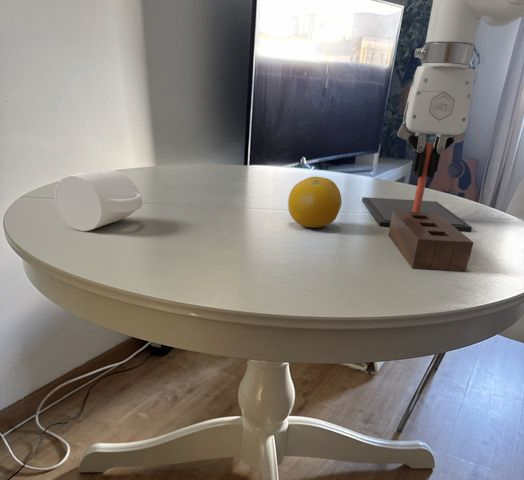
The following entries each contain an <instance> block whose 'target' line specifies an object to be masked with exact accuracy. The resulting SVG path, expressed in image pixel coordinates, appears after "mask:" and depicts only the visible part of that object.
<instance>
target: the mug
mask: <svg viewBox="0 0 524 480" xmlns="http://www.w3.org/2000/svg"><path fill="white" fill-rule="evenodd" d="M54 204H55V207H56V210H57V213H58V215H59V217H60V218H61V219H62V220H63V221H64V222H65V224H66V225H68V226H69V227H71V228H72V229H74V230H76V231H80V232H89V231H92V230H95V229H97V228H101V227H103V226H106V225H109V224H112V223H116V222H118V221H121V220H123V219H126V218H128V217H129V216H131V215H132V214H133V213H135V212H136V211H138V210H139V209H141V208H142V207H143V196H142V194H141V193H140V192H139V188H138V187H137V185H136V183H135V182H134V181H133V180H132V179H131V178H130V177H129V176H128V175H126V174H125V173H123V172H121V171H119V170H117V169H112V168H103V169H99V170H95V171H83V172H79V173H75V174H71V175H67V176H64V177H63V178H61V179H60V180H59V181H58V183H57V184H56V186H55V189H54Z"/></svg>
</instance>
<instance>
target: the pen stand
mask: <svg viewBox="0 0 524 480" xmlns="http://www.w3.org/2000/svg"><path fill="white" fill-rule="evenodd" d="M387 235H388V237H389V238H390V240H391V241H392V242H393V244H394V245H395V247H396V248H397V249H398V251H399V252H400V253H401V254H402V256H403V257H404V259H405V261H407V263H408V264H409V266H410V267H411V269H419V270H432V271H433V270H434V271H449V272H450V271H451V272H464V273H465V272H467V268H468V264H469V261H470V258H471V253H472V249H473V246H474V241H472V240H471V239H470V238H469V237H467V236H466V235H465V234H464V233H463V232H462V231H459V230H457V229H456V228H455V227H454V226H452V225H451V224H450V223H449V222H447V221H446V220H445V219H444V218H443V217H441V216H440V215H439V214H438V213H425V212H407V211H393V212H392V217H391V223H390V227H389V229H388V234H387Z"/></svg>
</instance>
